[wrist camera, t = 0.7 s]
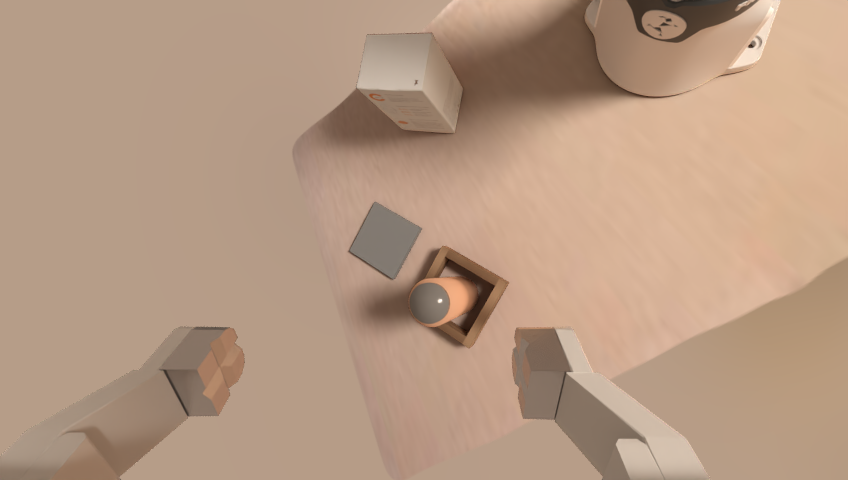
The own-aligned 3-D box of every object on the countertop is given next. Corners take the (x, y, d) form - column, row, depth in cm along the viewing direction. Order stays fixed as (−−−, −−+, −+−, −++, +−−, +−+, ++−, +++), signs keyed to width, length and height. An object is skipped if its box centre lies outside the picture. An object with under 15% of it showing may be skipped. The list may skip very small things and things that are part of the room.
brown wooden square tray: (447, 246, 50) (442, 245, 47) (509, 282, 47) (506, 283, 44) (415, 306, 51) (408, 307, 48) (473, 344, 48) (469, 348, 45)
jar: (453, 269, 49) (419, 269, 37) (485, 288, 48) (460, 295, 36) (436, 300, 50) (397, 310, 38) (467, 320, 48) (436, 337, 36)
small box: (464, 88, 51) (434, 31, 38) (455, 134, 51) (422, 91, 38) (409, 86, 53) (365, 32, 41) (401, 130, 53) (354, 89, 41)
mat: (376, 202, 54) (374, 201, 53) (422, 228, 51) (420, 228, 51) (351, 251, 55) (349, 250, 54) (394, 279, 52) (393, 279, 51)
